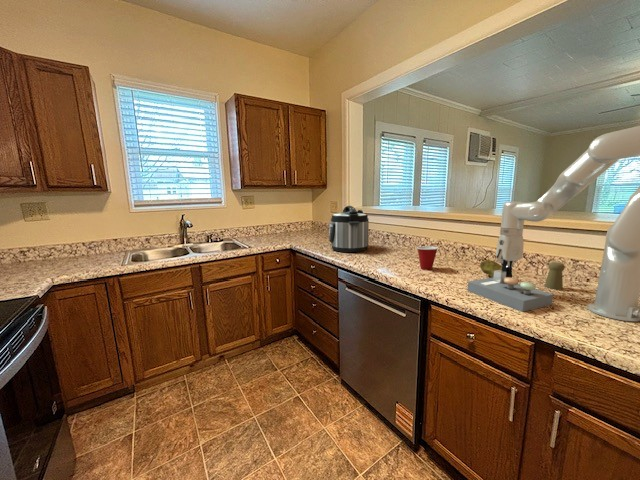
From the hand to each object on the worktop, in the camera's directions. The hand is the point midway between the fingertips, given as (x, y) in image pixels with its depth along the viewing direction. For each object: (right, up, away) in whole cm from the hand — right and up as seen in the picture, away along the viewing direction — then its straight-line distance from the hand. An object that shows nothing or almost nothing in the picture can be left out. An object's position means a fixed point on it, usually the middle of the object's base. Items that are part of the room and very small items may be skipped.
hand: (506, 275), depth 112 cm
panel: (-5, -8, -7) cm, 11 cm away
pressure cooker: (-57, +8, +84) cm, 102 cm away
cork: (+22, -6, +3) cm, 23 cm away
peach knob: (-4, -4, -9) cm, 11 cm away
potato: (+6, -3, +17) cm, 18 cm away
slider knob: (-4, -2, -1) cm, 4 cm away
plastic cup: (-20, -1, +33) cm, 39 cm away
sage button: (-2, -6, -14) cm, 15 cm away
